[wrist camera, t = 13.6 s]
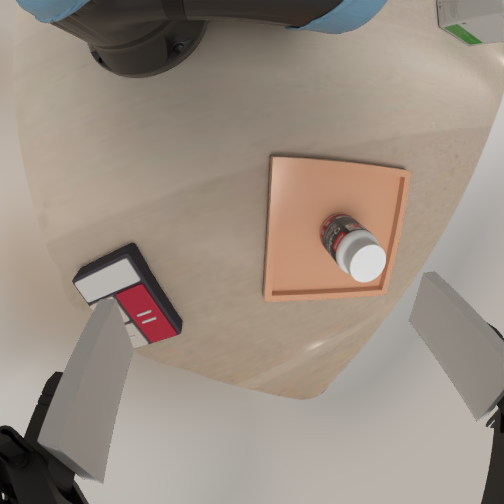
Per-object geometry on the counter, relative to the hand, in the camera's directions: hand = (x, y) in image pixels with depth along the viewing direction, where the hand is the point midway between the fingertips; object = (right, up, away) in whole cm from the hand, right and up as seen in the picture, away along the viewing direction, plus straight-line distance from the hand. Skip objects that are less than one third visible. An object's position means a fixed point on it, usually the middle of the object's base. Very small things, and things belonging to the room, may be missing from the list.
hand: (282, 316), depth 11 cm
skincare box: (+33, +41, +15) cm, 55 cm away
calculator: (-20, -4, +30) cm, 36 cm away
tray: (+11, +6, +28) cm, 31 cm away
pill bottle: (+11, +5, +28) cm, 30 cm away
